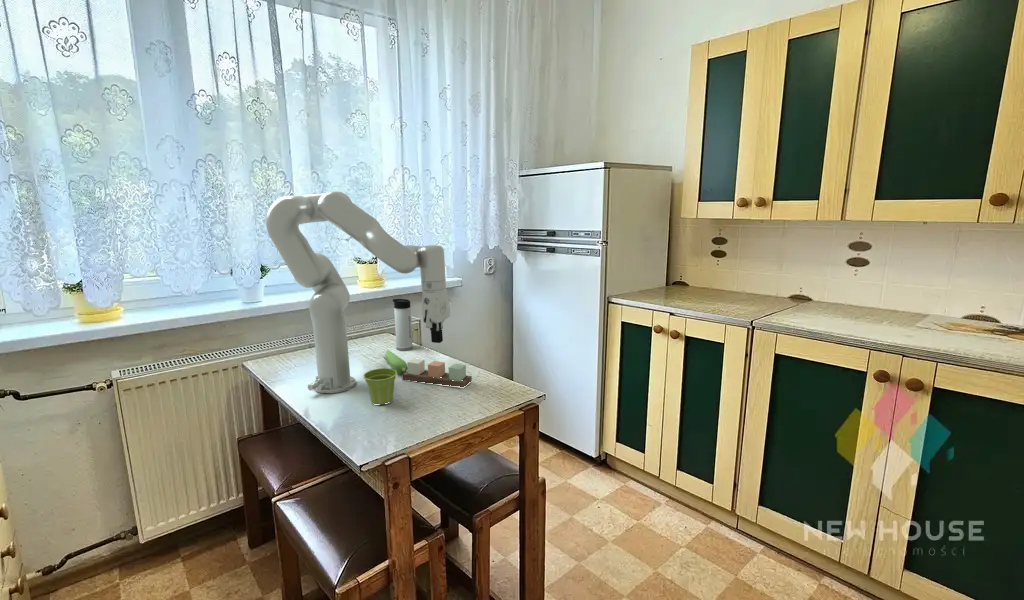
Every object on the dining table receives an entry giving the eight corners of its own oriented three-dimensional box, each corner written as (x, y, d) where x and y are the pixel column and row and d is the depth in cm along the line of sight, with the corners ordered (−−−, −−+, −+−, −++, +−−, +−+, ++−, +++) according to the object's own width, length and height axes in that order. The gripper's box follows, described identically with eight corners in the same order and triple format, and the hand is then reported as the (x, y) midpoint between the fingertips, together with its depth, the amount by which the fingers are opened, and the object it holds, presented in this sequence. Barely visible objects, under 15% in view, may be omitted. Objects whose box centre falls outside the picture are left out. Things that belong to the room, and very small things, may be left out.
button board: (463, 388, 152) (463, 382, 152) (402, 380, 160) (402, 374, 159) (471, 382, 158) (471, 376, 157) (412, 373, 165) (412, 368, 165)
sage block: (460, 381, 153) (460, 369, 152) (449, 379, 155) (448, 367, 154) (466, 376, 157) (465, 364, 156) (454, 375, 158) (454, 363, 157)
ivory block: (418, 375, 158) (418, 363, 157) (407, 373, 160) (407, 362, 159) (424, 371, 162) (424, 359, 161) (414, 369, 163) (413, 358, 162)
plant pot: (382, 411, 137) (380, 382, 135) (358, 404, 142) (356, 376, 140) (405, 399, 145) (403, 371, 143) (381, 393, 150) (379, 366, 148)
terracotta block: (439, 378, 156) (438, 366, 155) (428, 376, 157) (427, 364, 156) (445, 373, 159) (444, 362, 159) (434, 372, 161) (433, 360, 160)
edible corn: (393, 366, 161) (406, 360, 162) (379, 351, 178) (391, 345, 180) (399, 379, 162) (411, 373, 164) (384, 363, 180) (395, 358, 181)
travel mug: (394, 347, 193) (391, 298, 189) (410, 345, 196) (408, 296, 192) (397, 352, 188) (394, 301, 183) (414, 349, 190) (411, 299, 186)
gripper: (432, 290, 144) (436, 350, 148) (455, 281, 157) (458, 336, 162) (410, 289, 146) (414, 348, 150) (434, 280, 160) (438, 334, 164)
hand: (437, 341), depth 156 cm, fingers closed
